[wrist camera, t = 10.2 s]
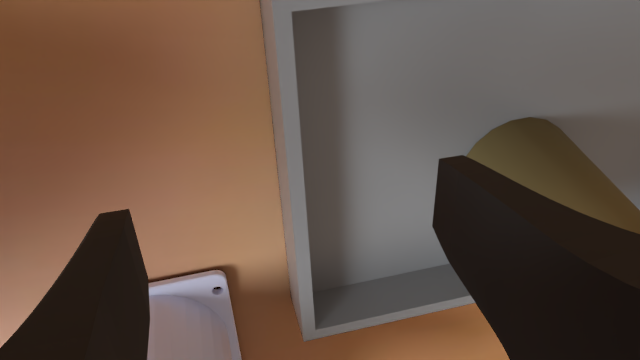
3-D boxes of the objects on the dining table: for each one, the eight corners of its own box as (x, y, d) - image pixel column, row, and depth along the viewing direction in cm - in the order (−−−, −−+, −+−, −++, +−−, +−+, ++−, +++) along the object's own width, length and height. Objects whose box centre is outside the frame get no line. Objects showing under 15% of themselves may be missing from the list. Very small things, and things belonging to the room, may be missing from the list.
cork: (566, 204, 29) (757, 370, 20) (458, 242, 29) (605, 431, 19) (571, 100, 26) (802, 244, 17) (449, 140, 25) (621, 313, 16)
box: (663, 218, 33) (704, 250, 30) (291, 297, 29) (303, 341, 26) (771, -83, 24) (841, -72, 22) (256, -28, 20) (271, -6, 18)
